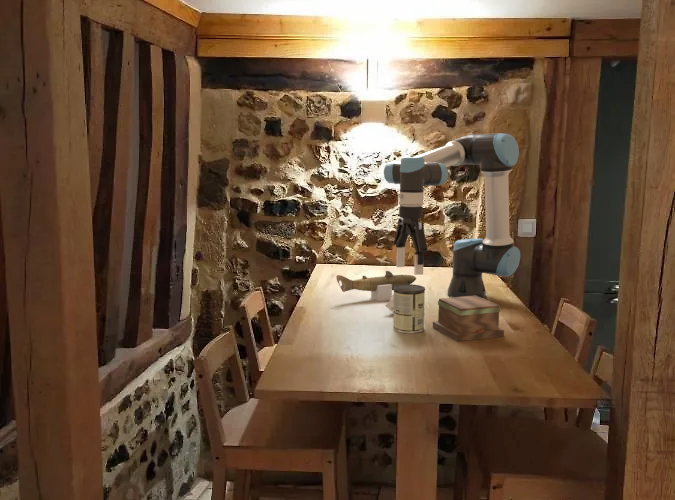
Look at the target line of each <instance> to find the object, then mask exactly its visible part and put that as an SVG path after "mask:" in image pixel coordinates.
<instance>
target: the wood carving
mask: <svg viewBox="0 0 675 500" xmlns="http://www.w3.org/2000/svg"><path fill="white" fill-rule="evenodd" d="M335 278H336V280H337V281H336V282H337V284H338V286H339V288H340V289H341V291H342V292H343V293H345V292H349V291H352V290H357V291H363V292H364V291H365V292H370V293H371V294H370V298H371V299H373V300H375V301H377V302H381V301H390V300H391V299H390V297H391V296H392V295H393V291H394V289H393V287H394V286H397V285H403V284H413V283H414V282H415V281H417V276H416V275H415V276H414V275H411V274H393V273H392V272H391V271H389V270H385V275H382V276H375V277H367V276H366V275H362V277H361V278H359V279H353V280H352V279H350V278H348V277H345V276H343V275H341V274H337V275H336V277H335ZM340 282H341V285H340Z"/></svg>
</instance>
